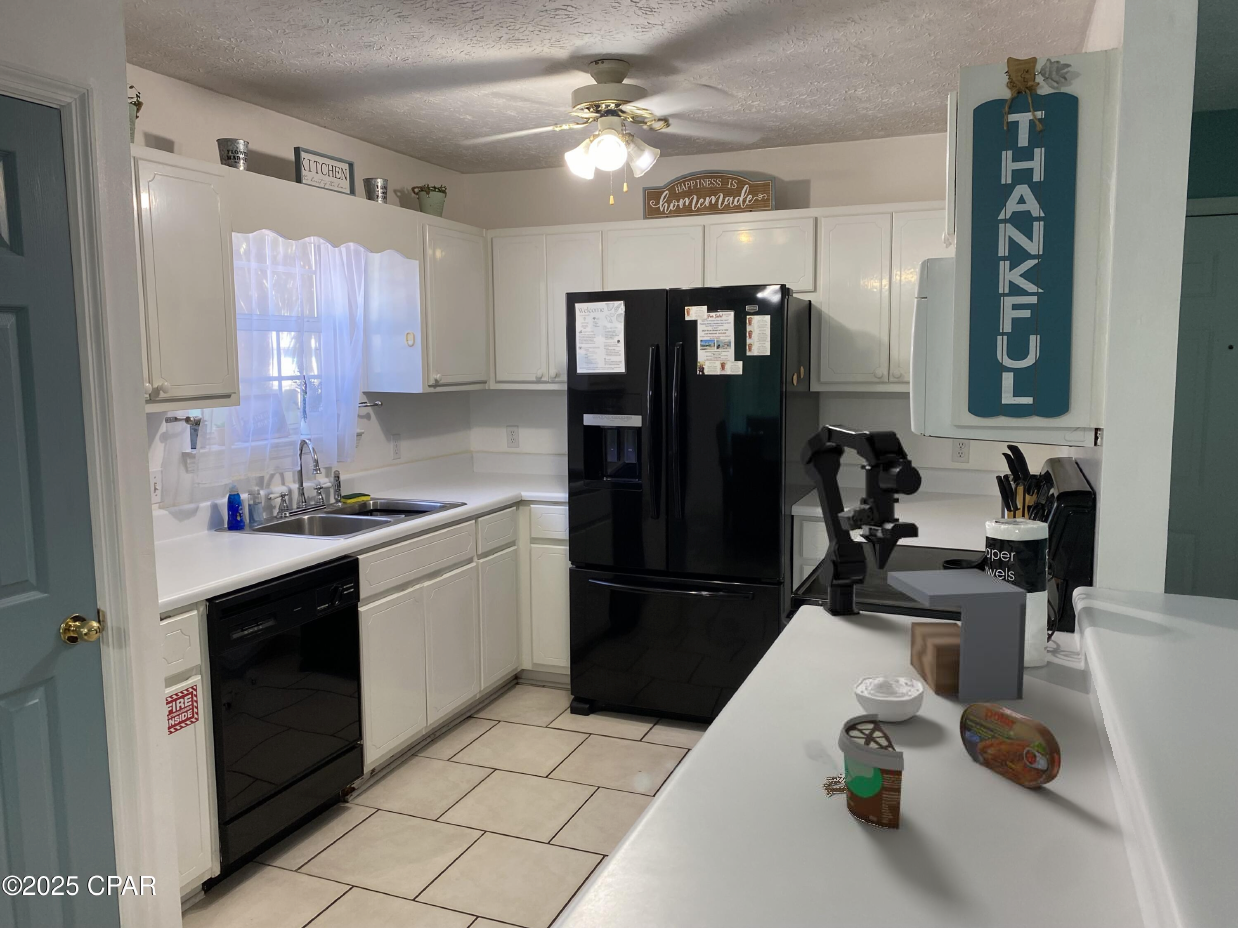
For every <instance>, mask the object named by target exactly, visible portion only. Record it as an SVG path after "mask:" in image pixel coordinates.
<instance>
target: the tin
mask: <svg viewBox="0 0 1238 928" xmlns="http://www.w3.org/2000/svg"><path fill="white" fill-rule="evenodd" d="M959 735H960V736H959V737H960V739H961V742H962V745H963V747H964V749H965V751H966V753H967V754H968V755H969V756H970V758H971V759H972V760H973V761H974V762H976V763H977V764H979V765H981V766H983V767H985V768H986V769H989V770H991V771H993V772H994V773H996V774H999V775H1000V776H1002V777H1004V778H1006V779H1008V780H1010V781H1012V782H1014V783H1016V784H1018V785H1020V786H1022V787H1025V788H1037V787H1039V786H1043V785H1047V784H1049V783H1052V782H1053V781H1054V780H1056V779H1057V777H1058V775H1059V774H1060V773H1059V772H1060V770H1061V762H1062V760H1061V759H1062V758H1061V757H1062V755H1061V748H1060V745H1059V743H1058V741H1057V739H1056V737H1055V735H1054V733H1052V732H1051V730H1050V728H1048V727H1046V725H1044V724H1043V723H1041V722H1039V721H1037V720H1035V719H1033V718H1030V717H1028V716H1026V715H1023V714H1021V713H1018V712H1016V711H1013V710H1011V709H1008V708H1006V707H1003V706H1001V705H999V704H997V703H992V702H983V703H980V702H978V703H977V702H975V703H972V704H970V705H968V706H967V707H965V708H964V710H963V712H962V713H961V715H960V719H959Z"/></svg>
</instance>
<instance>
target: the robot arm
mask: <svg viewBox="0 0 1238 928" xmlns="http://www.w3.org/2000/svg"><path fill="white" fill-rule="evenodd" d="M845 448H849V449H852V450H855V451H856V455H857V456H859V457H861V458H862V459H864V460H865V461H864V462H863V463H862V464H861V465H860V470H862V471H864V472H865V473H864V474H865V475H864V477H865V478H864V481H865V484H864V487H865V489H864V490H865V492H864V493H865V496H864V497H860V499H859V504H858V505H857V506H854V507H852V508H849V509H847V510H845V506H844V502H843V498H842V494H841V491H840V485H839V481H838V474H839V472H840V469H841V467H842V463H841V459H842V457H843V456H844V454H845V453H846V449H845ZM908 456H909V455H908V454H907V452H906V451H905V448H904V446H903V444H902V442H901V440H900V438H899V437H898V434H897V433H896V432H895V431H894V430H872V431H870V430H868V431H867V430H862V429H857V428H855V427H854V428H853V427H849V426H846V425H843V424H825V425H823V426H822V427H821V428H820V430H819V431H818V432H817V433H815V435H813V436H812V437H811V438H809V439H807V441H806V442H805V444H804V446H803V447H802V449H801V451H800V456H799V457H800V462H801V463H802V467H803V469H804V472H805V475H807V477H809V478H810V480H811V481H812V482H813V483H814V484H815V486H816V487H815V488H816V492H817V496H818V500H819V504H820V510H821V513H822V517H823V522H824V525H825V531H826V534H827V539H828V547H827V550H826V552H825V555H824V559H825V563H824V565H823V567H822V568H821V569H820V571H819V572H818V580H819V583H820V584H822V585H824V586H825V587H827V592H828V593H827V595H828V597H827V598H828V599H827V604H823V605H822V608H823V609H824V610H825V611H827V612H828V613H829V614H830V615H833V616H840V615H842V616H845V615H860V614H861V611H860V610H859V609H858V608H856V607H855V606H856V605H855V603H856V601H855V599H856V598H855V596H856V595H855V593H856V586H858V585H861V586H862V585H863V586H864V585H865V580H866V577H867V573H868V568H869V566H868V562H867V560H868V559H867V556H866V555H865V551H864V546H863V544H862V542H857V541H855V540H854V539H853V538H852V535H851V532H854V531H856V530H861V531H862V533H859V534H858V535H859V537H861V538H862V539H864V541H866V542H867V543H868V546H869V548H870V551H871V555H872V556H873V557H872V558H873V560H874V564H875V567H876V569H877V570H880V571H882V570H884V569H885V568H886V566H887V564H888V561H889V559H890V557H891V555H892V553H893V551H894V550H895V548H896V546H897V544H898V543H899V541H900V540H902V539H911V538H912V539H913V538H915V539H916V538H919V537H920V536H919V535H920V533H919V532H920V531H919V526H918V525H917V524H916V523H915V522H907V521H900V518H899V517H896V516H895V514H896V507H895V504H900V498H899V497H896V496H895V495H902V496H911V495H914V494H916V493H917V492H918V491H919V490H920V489H921V485H922V480H923V479H922V476H921V473H920V471H919V470H918V469H917V468H916V467H915V466H913V461H912V459H909V457H908Z"/></svg>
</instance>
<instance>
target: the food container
mask: <svg viewBox="0 0 1238 928" xmlns="http://www.w3.org/2000/svg"><path fill="white" fill-rule="evenodd" d="M837 745H838V748H839V750H840V751H841V752H842V753H843V762H844V763H843V764H844V774H845V784H846V793H845V798H846V808H848V809H849V810H848V809H847V810H848V812H849V811H850V812H851V813H852V814H853V815H854V816H856V817H857V818H859V819H861V820H864V821H865V822H867V823H866V824H868V823H871V824H875V825H878V826H881V827H880V828H882V827H888V828H887V829H890V828H893V829H892V830H896V829H897V830H899V829H900V818H901V817H900V815H901V801H902V800H901V797H902V782H903V771H905V760H904V759H905V758H904V751H902V750H900V751H899V750H896V748H895V746H894V745H893V742H892V740H891V738H890V736H889V735H888V734H887V732H886V731H885V730H884V729H883V728H882V726H881V725H880V723H879V720H878V714H867V713H864V714H859V715H856V716H854V717H851V718H849V719H847V720H846V721H845V722H844V723H843V725H842V727H841V730H840V733H839V737H838V740H837ZM850 812H849V813H850ZM851 813H850V814H851ZM852 814H851V815H852ZM853 815H852V816H853ZM854 816H853V817H854ZM856 817H855V818H856ZM857 818H856V819H857ZM859 819H858V820H859ZM861 820H860V821H861ZM865 822H864V823H865ZM895 828H896V829H895Z"/></svg>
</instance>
